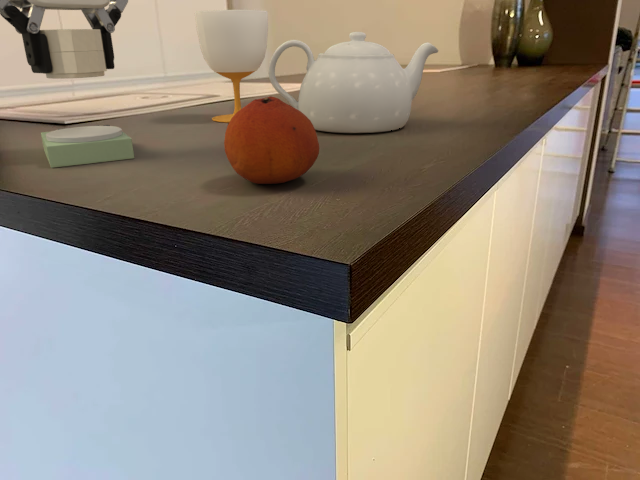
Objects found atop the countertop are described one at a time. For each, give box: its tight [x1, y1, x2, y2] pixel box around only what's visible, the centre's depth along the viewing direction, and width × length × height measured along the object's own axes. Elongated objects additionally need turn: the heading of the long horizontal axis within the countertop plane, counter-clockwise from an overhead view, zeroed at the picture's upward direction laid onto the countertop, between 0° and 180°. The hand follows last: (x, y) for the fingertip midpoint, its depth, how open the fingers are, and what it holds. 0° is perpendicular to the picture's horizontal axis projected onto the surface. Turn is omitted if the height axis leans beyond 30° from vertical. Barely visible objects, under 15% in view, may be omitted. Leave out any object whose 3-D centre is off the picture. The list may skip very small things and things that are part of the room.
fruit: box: [223, 95, 320, 185], centre depth 51 cm, size 9×9×8 cm
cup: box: [194, 9, 269, 124], centre depth 90 cm, size 12×12×17 cm
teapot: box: [267, 31, 439, 134], centre depth 81 cm, size 19×18×14 cm
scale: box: [40, 124, 135, 169], centre depth 65 cm, size 11×9×3 cm
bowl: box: [40, 28, 108, 80], centre depth 61 cm, size 7×7×5 cm
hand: (74, 69), depth 62 cm, fingers closed on bowl, 7 cm apart
